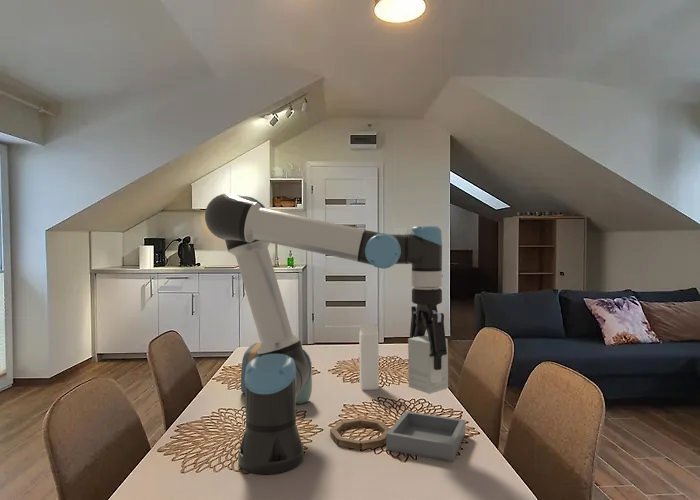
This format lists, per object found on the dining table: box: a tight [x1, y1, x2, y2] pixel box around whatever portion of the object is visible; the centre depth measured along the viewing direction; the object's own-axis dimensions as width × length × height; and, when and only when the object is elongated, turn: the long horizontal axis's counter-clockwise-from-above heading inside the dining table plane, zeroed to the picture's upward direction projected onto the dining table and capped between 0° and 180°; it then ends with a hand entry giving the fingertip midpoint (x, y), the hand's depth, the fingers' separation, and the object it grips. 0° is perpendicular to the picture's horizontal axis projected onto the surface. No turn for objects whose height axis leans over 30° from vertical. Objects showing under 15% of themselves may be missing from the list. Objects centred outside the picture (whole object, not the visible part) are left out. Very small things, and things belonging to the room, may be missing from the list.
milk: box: [358, 323, 380, 391], centre depth 161 cm, size 6×6×22 cm
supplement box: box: [407, 334, 449, 395], centre depth 118 cm, size 7×7×13 cm
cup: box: [296, 369, 313, 405], centre depth 148 cm, size 8×8×10 cm
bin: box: [385, 410, 466, 463], centre depth 118 cm, size 16×16×4 cm
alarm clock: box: [240, 342, 261, 394], centre depth 162 cm, size 16×16×16 cm
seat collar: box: [329, 417, 391, 450], centre depth 122 cm, size 15×15×2 cm
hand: (427, 376), depth 117 cm, fingers closed on supplement box, 9 cm apart
